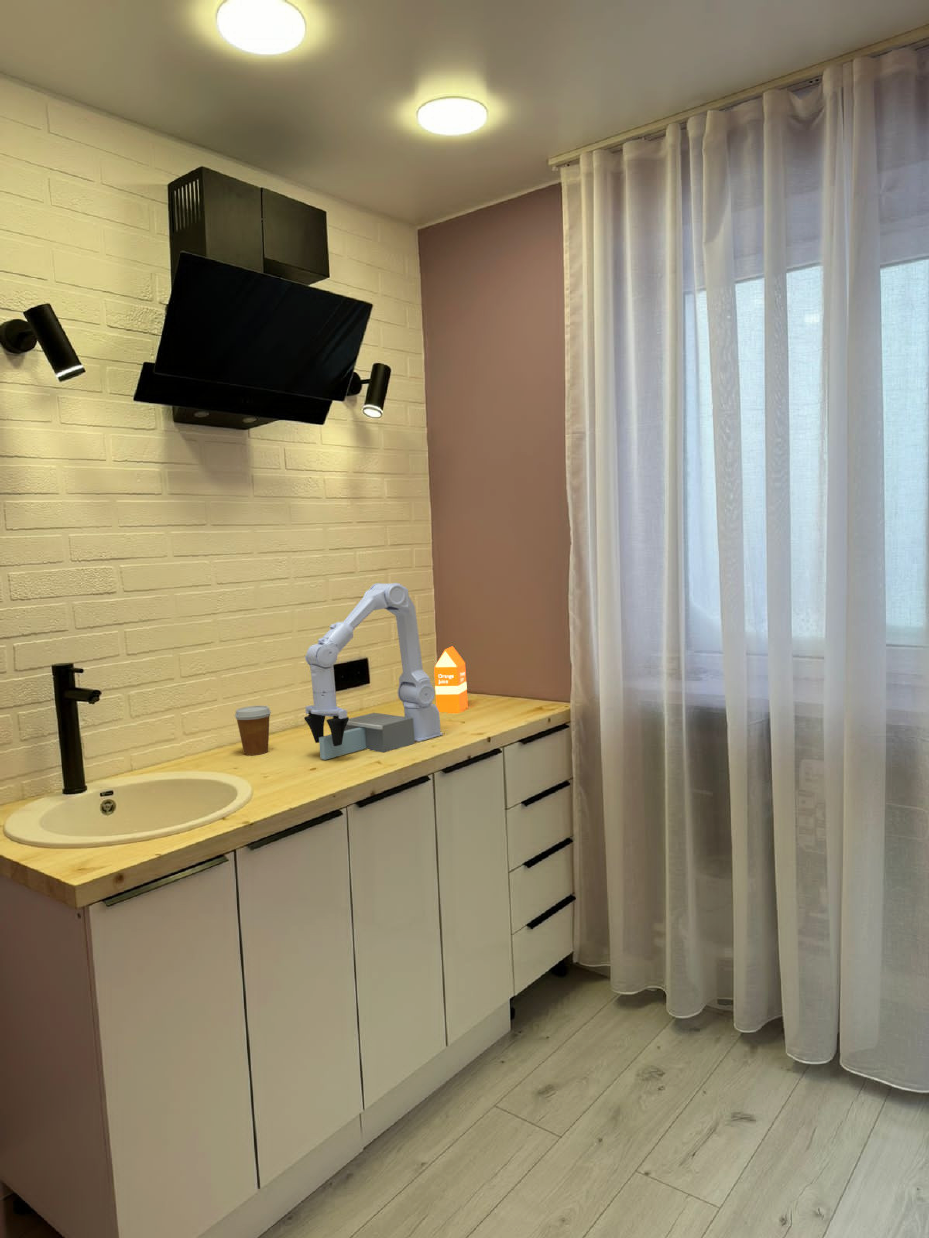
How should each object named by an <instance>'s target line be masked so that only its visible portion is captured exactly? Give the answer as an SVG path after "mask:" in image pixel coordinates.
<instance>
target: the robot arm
mask: <svg viewBox="0 0 929 1238" xmlns="http://www.w3.org/2000/svg"><path fill="white" fill-rule="evenodd" d="M377 610H387V611H388V612H389V613H391V614H392V615H394V616H395V620H396V627H397V628H396V629H397V636H398V645H399V653H400V660H401V661H400V662H401V667H402V668H401V669H402V673H401V674H400V676H399V678H398V683H399V684H398V688H397V696H398V699H399V700H400V701H401V702H402V706H403V713H404V717H410V718H413V725H414V739H415V742H423V741H425V740H429V739H433V738H437V737H439V736H442V735H443V732H441V720H440V719H441V717H440V713H439V710H438V708H437V704H435V703H433V701H434V699H435V697H436V690H435V687H433V685H432V682H431V678H430V676H429V675H428V674H427V673H426V672H425V671H424V667H423V661H422V652H421V643H420V637H419V628H418V621H417V611H416V606H415V604H414V602H413V600H412V598H411V597H410V595H409V589H408V587H406V586H404V585H402V584H400V583H399V582H394V583H393V582H392V583H382V582H381V583H380V582H378V583H374V584H373V585H371V586H370V588H369V589H368V590H366V591H365V592H364V595H363V597H362V598H361V599H360V600H359V602H358V603H357V604H356V606H355V607H354V608H353V609H352V611H351V612H350V613H349V614H348V615H347V616H346V618H345V619H344V620H343V621H338V622H335V623H331V624H330V626H329V630H328V631H327V632H326V633H325V634H324V635H323V636H322V637H320V638H318V640H317V641H318V642H317V643H315V644H312V645H310V646H309V648H308V649H307V651H306V655H304V659H305V661H306V663H307V665H309V669H310V675H311V676H310V677H311V679H310V680H311V688H312V698H313V705H306V706H305V708H304V709H305V715H307V716H304V721H305V722H306V724H307V725H308V727H309V730H310V731H311V734H312V736H313V737H312V738H313V739H314V742H315V744H319V737H323V736H325V735H324V734H325V733H324V731H325V730H324V727H325V720H326V723H327V725H328V728H329V730H330V735H331V734H332V741H333V745H334V746H339V745H342V740H343V734H344V730H345V727H346V725H347V722H348V720H349V719H350V718H349V716H348V712H347V709H343V708H341V707H339V706H337V704H338V703H337V695H336V694H337V692H336V681H335V669H334V665H335V664H336V662H337V660H338V656H339V655H338V654H339V653H341V651H342V650H343V649H344V648H345V647H346V646H347V644H348V643H349V642H351V640H352V639H353V638H354V630H356V628H357V627H358V626H359V625H361V624H362V622H363V621H365V619H367V618H368V616H370V614H372V613H373V612H374V611H377ZM326 717H329V718H328V719H326ZM330 717H332V718H330Z"/></svg>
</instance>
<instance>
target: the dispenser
mask: <svg viewBox="0 0 929 1238" xmlns="http://www.w3.org/2000/svg"><path fill="white" fill-rule="evenodd" d="M358 727H365V728H366V742H367V748H366V750H367V749H370V750H369V751H372V750H374V752H378V753H386V752H387V751H388V752H391V751H394V750H398V749H401V748H405V747H407V746H411V745H414V744H416V743H415V742H416V741H415V739H414V725H413V718H410V717H405V716H402V715H401V716H400V715H393V714H388V713H387V714H386V713H377V712H371V713H367V714H363V715H359V716H355V717H351V718H349V720H348V722H347V725H346V727H345V730H344V731H346V730H350V729H354V728H358ZM404 746H405V747H404ZM393 749H394V750H393ZM390 750H391V751H390ZM388 752H387V753H388Z"/></svg>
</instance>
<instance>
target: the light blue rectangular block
mask: <svg viewBox="0 0 929 1238" xmlns="http://www.w3.org/2000/svg"><path fill="white" fill-rule="evenodd" d="M318 746H319V755H320V760H325V761H326V760H329V759H333V758H335V757H339V756H343V755H348V754H350V753H354V752H359V751H362V750H364V749H366V750H367V742H366V728H365V727H358V728H354V729H350V730H346V731H344V734H343V740H342V745H339V746H334V745H333V741H332V734H331V733H330V734H327V735H324V736H323V737H319V743H318Z"/></svg>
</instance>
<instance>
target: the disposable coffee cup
mask: <svg viewBox="0 0 929 1238" xmlns="http://www.w3.org/2000/svg"><path fill="white" fill-rule="evenodd" d="M271 712H272V710H270V707H269V706H268V705H251V706H245V707H241V708H238V709H236V710H235V714H234V717H235V720H236V722H237V726H238V732H239V737H240V740H241V741H240V742H241V745H242V750H243V754H244V755H246V756H261V755H265V754H267V753H268V752H269V738H270V735H269V734H270V733H269V732H270V716H271V714H272V713H271Z"/></svg>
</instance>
